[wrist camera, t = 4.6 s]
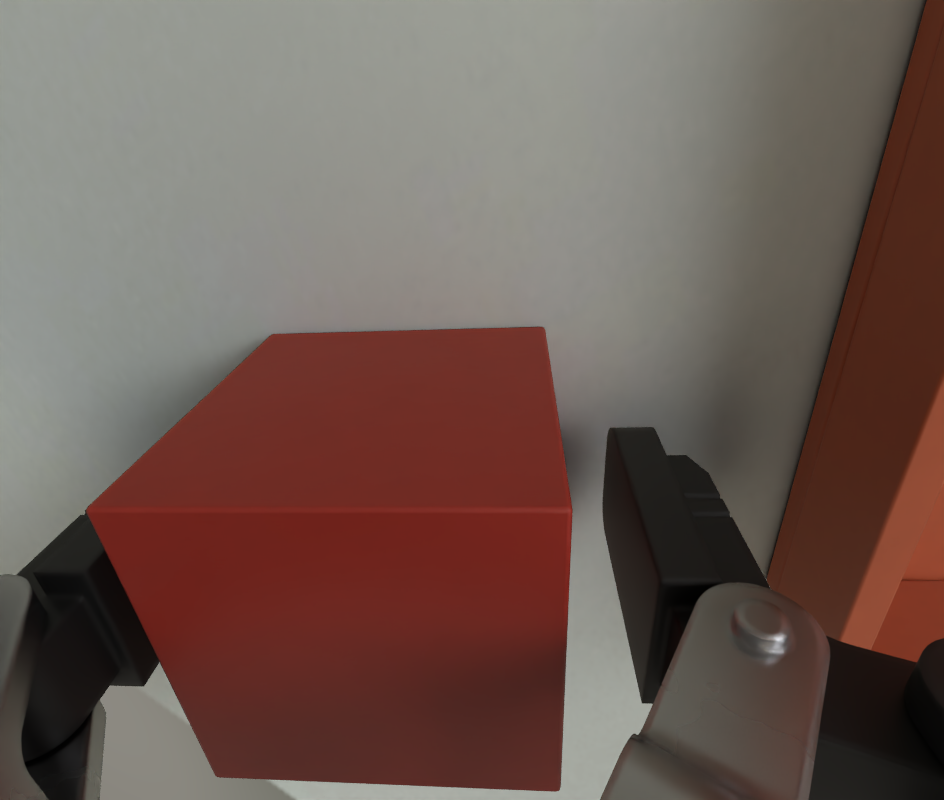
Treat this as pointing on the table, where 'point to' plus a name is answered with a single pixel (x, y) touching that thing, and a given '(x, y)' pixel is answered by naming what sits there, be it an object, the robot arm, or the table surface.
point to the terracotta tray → (882, 404)
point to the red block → (361, 560)
